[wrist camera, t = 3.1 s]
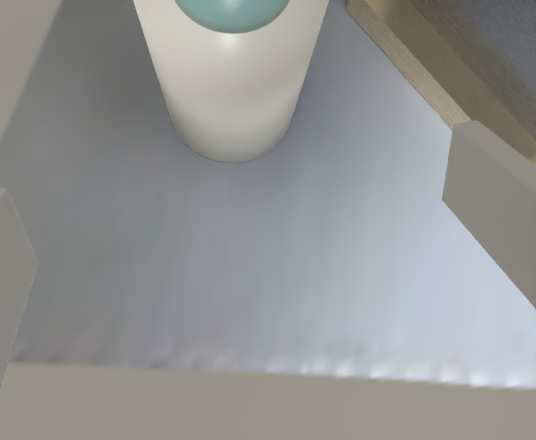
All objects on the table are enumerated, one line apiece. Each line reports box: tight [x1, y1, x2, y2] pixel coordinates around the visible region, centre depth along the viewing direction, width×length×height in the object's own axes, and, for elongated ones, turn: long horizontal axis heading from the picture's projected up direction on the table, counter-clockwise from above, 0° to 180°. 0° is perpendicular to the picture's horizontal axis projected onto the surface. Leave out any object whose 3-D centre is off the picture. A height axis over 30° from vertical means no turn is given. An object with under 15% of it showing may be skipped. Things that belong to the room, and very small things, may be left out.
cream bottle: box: [133, 0, 329, 163], centre depth 22 cm, size 7×7×12 cm
